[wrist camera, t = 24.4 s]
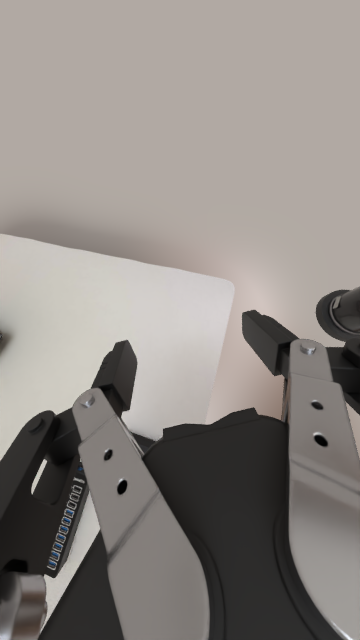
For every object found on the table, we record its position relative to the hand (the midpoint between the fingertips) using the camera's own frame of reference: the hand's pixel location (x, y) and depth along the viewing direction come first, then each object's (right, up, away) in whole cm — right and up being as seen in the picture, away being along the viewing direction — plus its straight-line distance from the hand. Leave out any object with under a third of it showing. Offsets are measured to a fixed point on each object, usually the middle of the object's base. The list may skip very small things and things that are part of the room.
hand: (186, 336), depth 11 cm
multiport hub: (-21, -35, +19) cm, 45 cm away
